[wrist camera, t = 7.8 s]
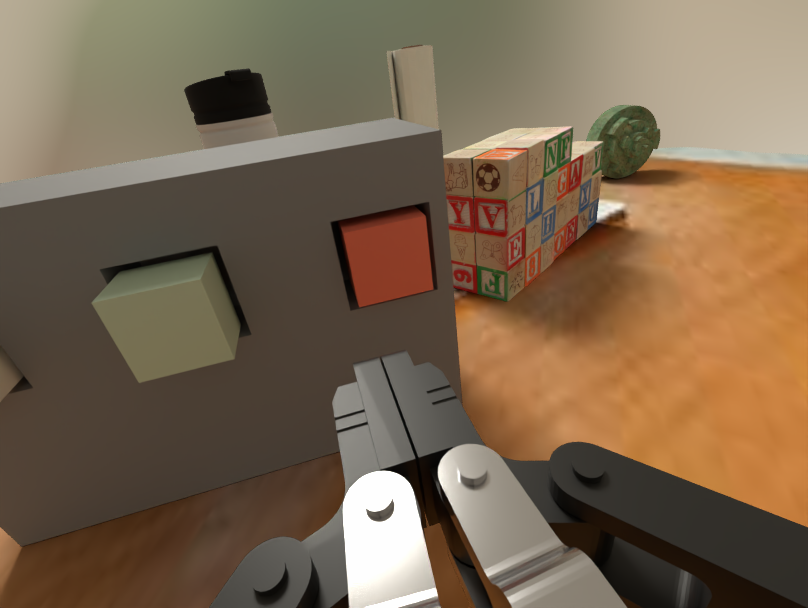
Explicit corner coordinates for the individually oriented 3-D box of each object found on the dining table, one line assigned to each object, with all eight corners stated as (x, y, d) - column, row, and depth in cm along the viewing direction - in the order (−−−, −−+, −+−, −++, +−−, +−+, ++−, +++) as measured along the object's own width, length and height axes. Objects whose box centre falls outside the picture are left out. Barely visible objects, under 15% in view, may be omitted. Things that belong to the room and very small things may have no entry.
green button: (139, 383, 16) (91, 303, 14) (158, 343, 18) (119, 271, 16) (234, 359, 16) (200, 279, 14) (240, 324, 19) (212, 252, 17)
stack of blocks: (546, 217, 52) (551, 112, 46) (597, 223, 48) (610, 109, 42) (449, 288, 39) (438, 154, 32) (508, 304, 35) (508, 155, 29)
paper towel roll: (439, 183, 73) (428, 45, 63) (447, 191, 68) (435, 41, 58) (400, 189, 73) (382, 51, 62) (405, 197, 68) (386, 49, 57)
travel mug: (279, 313, 38) (199, 73, 28) (247, 296, 42) (168, 82, 33) (331, 286, 42) (276, 65, 32) (297, 273, 46) (239, 73, 36)
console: (21, 546, 20) (-287, 258, 13) (90, 427, 28) (-78, 196, 20) (463, 414, 24) (441, 130, 16) (421, 339, 32) (392, 117, 24)
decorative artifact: (638, 169, 65) (649, 100, 60) (673, 177, 59) (688, 101, 54) (581, 180, 64) (588, 110, 59) (610, 190, 57) (620, 113, 53)
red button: (359, 307, 18) (343, 233, 17) (350, 282, 21) (335, 215, 19) (433, 289, 19) (425, 215, 17) (416, 267, 21) (408, 200, 20)
